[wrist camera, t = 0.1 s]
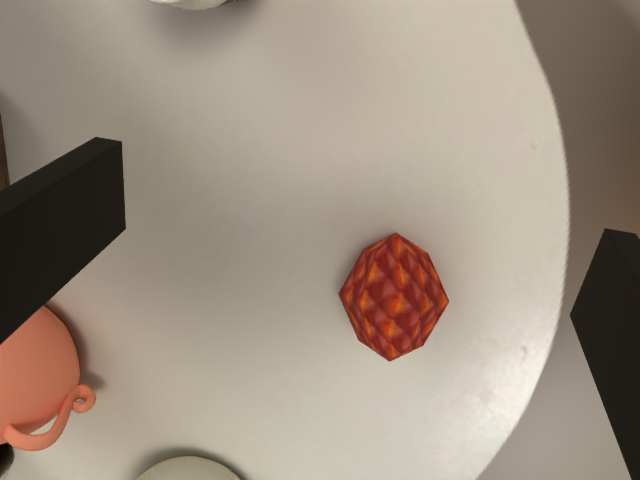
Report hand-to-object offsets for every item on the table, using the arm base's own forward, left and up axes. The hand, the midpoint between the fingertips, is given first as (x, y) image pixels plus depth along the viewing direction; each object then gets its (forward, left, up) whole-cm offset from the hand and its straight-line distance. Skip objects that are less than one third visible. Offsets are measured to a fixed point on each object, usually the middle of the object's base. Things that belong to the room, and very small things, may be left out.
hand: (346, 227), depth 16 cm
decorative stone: (+12, +3, -19) cm, 23 cm away
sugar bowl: (+25, -24, -19) cm, 40 cm away
